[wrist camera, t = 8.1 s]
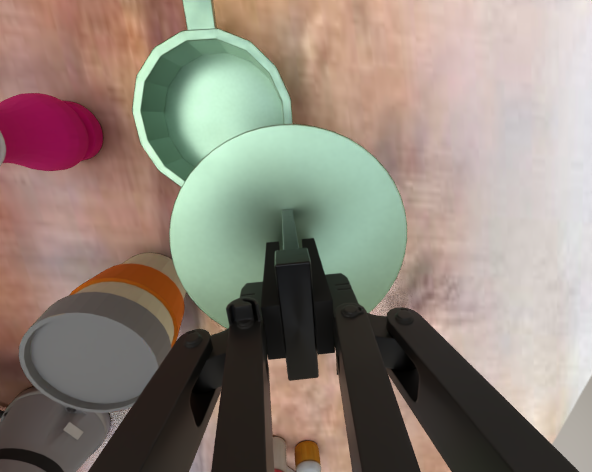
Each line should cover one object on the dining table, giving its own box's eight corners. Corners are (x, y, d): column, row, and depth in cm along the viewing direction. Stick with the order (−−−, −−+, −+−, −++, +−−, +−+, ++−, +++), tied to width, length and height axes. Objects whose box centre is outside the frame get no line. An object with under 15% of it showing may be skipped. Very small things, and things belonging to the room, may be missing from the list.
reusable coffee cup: (213, 262, 40) (180, 338, 26) (183, 330, 44) (140, 427, 30) (119, 225, 38) (27, 288, 24) (96, 301, 42) (5, 393, 28)
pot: (180, 209, 37) (161, 227, 31) (137, 19, 30) (102, -6, 24) (295, 200, 38) (298, 216, 32) (282, 10, 30) (283, -17, 24)
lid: (200, 342, 23) (158, 465, 15) (147, 135, 18) (32, 152, 9) (395, 322, 24) (457, 431, 16) (407, 112, 18) (518, 109, 10)
